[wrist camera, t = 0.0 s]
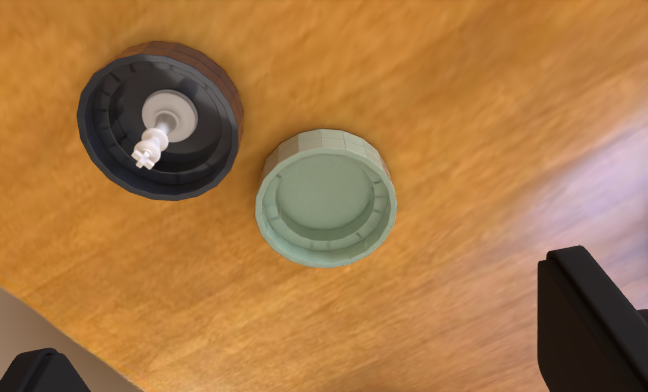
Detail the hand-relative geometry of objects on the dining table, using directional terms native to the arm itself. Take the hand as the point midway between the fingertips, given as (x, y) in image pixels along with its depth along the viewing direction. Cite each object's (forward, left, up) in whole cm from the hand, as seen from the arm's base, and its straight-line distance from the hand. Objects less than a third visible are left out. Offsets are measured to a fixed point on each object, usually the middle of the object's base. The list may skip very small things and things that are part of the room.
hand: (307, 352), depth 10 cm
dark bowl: (+6, -14, -37) cm, 40 cm away
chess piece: (+6, -14, -37) cm, 40 cm away
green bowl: (+17, -2, -37) cm, 41 cm away
